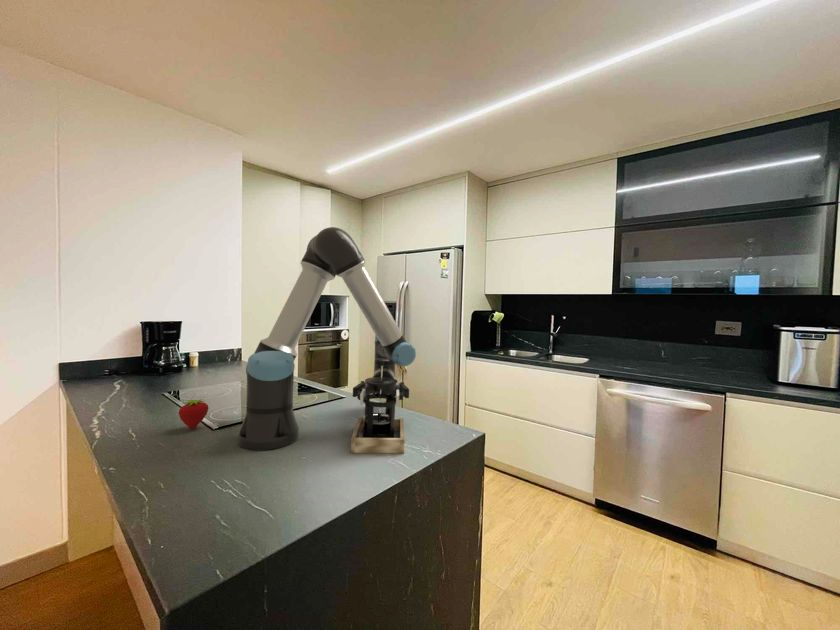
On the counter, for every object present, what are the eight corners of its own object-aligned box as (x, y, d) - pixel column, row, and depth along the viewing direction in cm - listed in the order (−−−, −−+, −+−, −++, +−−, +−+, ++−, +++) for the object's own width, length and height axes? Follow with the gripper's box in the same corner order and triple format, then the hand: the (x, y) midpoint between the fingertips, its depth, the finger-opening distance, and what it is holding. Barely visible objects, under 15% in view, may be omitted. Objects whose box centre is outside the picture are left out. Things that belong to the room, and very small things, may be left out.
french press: (381, 451, 87) (385, 363, 86) (352, 442, 91) (356, 358, 91) (404, 436, 97) (408, 358, 97) (377, 429, 102) (381, 354, 101)
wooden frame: (350, 452, 85) (351, 439, 85) (358, 429, 102) (358, 417, 102) (404, 453, 86) (404, 439, 86) (402, 429, 103) (403, 418, 103)
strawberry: (212, 427, 99) (213, 393, 99) (184, 435, 93) (185, 399, 93) (201, 423, 102) (202, 390, 102) (173, 430, 96) (174, 395, 95)
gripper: (415, 393, 113) (419, 414, 90) (350, 392, 111) (338, 413, 89) (416, 371, 112) (420, 387, 90) (350, 369, 111) (338, 385, 89)
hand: (379, 400), depth 89 cm, fingers closed on french press, 9 cm apart
